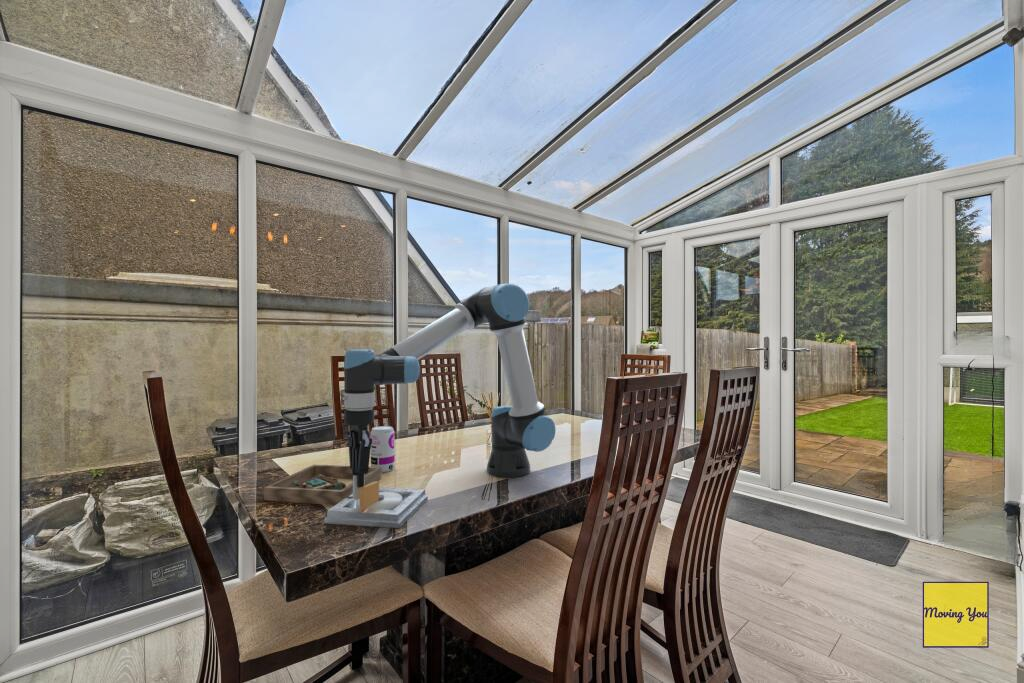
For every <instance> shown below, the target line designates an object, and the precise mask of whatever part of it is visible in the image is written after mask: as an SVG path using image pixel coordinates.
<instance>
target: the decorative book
mask: <svg viewBox="0 0 1024 683" xmlns="http://www.w3.org/2000/svg"><path fill="white" fill-rule="evenodd" d="M292 485H294V486H295V488H310V489H329V490H342V489H343V488H345V487H347V485H346V483H344V482H342V481H339V480H338V479H337V478H336V477H326V476H323V475H319V476H315V477H313V478H309V479H305V480H298V481H294V482H292Z"/></svg>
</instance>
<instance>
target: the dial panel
mask: <svg viewBox="0 0 1024 683" xmlns="http://www.w3.org/2000/svg"><path fill="white" fill-rule="evenodd" d="M379 492H394V493H398V494H400V495H401V496H402V503H401V504H400V505H398V506H397V507H396V508H395V509H394V510H378V509H368V508H365V509H361V508H356V500H354V499H353V494H351V495H350V496H348V497H347V498H345V499H344V500H342V501H341V502H339V503H338V504H336V505H332V507H330V508H329V509H328V510H327V512H326V513H327V514H326V517H325V518H324V520H323V521H324V524H329V525H346V526H360V527H361V526H362V527H377V528H379V527H380V528H391V529H393V528H394V529H400V528H401V527H402V526H403V525H404V524H405V523H406V522H407V521H408V520H409V519H410V518H412V516H414V514H415V513H416V512H418V510H419V509H420V508H421V507H422V506H424V504H425V503H426V502H427V501H428V497H429V495H426V488H425V489H424V488H423V489H422V488H421V489H420V488H406V487H404V488H402V487H382V486H379Z"/></svg>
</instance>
